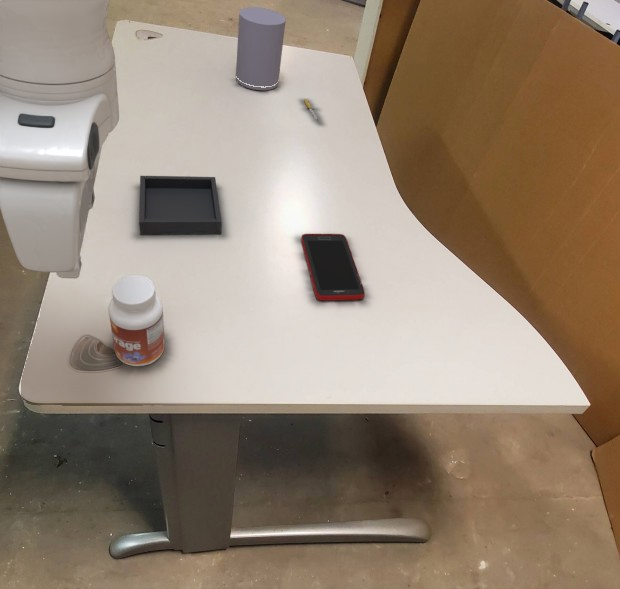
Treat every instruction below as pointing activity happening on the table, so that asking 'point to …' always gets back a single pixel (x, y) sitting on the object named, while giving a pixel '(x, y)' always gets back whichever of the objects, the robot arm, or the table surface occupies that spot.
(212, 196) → the dark shallow tray
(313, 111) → the dagger
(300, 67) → the table surface
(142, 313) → the pill bottle
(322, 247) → the cell phone
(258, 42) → the container
